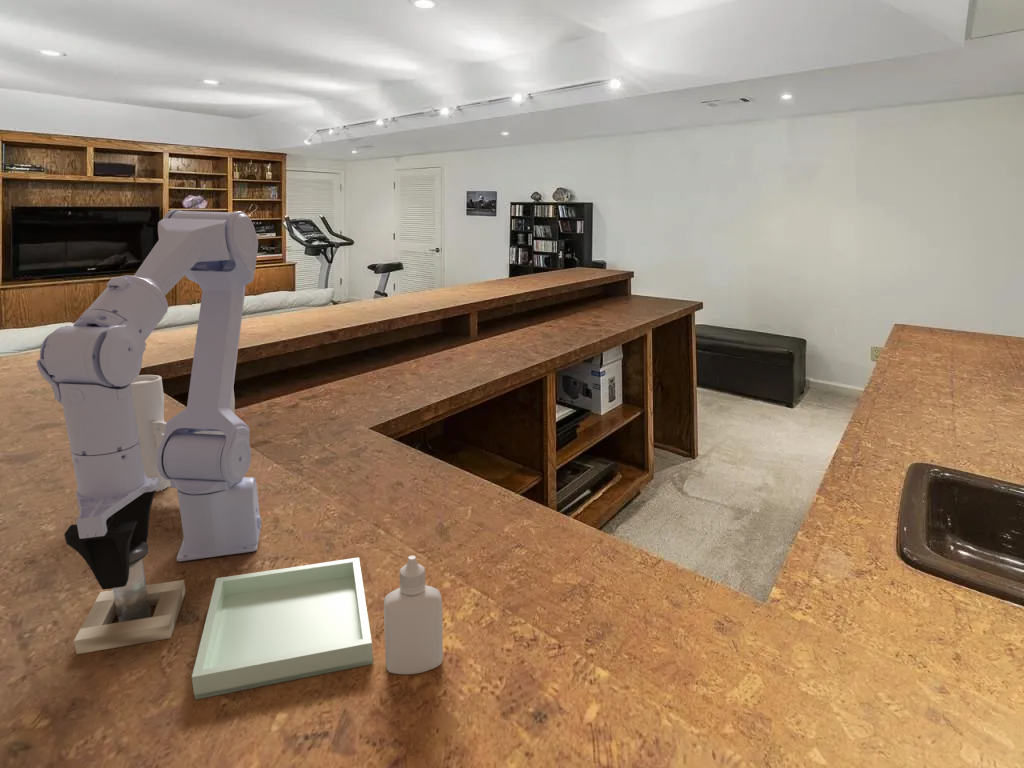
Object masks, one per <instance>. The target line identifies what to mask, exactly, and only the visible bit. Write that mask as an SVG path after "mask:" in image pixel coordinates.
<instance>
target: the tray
mask: <svg viewBox="0 0 1024 768" xmlns="http://www.w3.org/2000/svg"><path fill="white" fill-rule="evenodd" d="M367 608H368V607H367V601H366V595H365V588H364V582H363V576H362V569H361V561H360V557H353V558H351V557H350V558H346V559H338V560H333V561H326V562H319V563H312V564H304V565H298V566H292V567H291V566H290V567H286V568H285V567H284V568H279V569H270V570H264V571H257V572H251V573H244V574H238V575H230V576H222V577H217V578H215V583H214V586H213V590H212V594H211V598H210V603H209V606H208V609H207V615H206V618H205V623H204V627H203V631H202V635H201V637H200V638H201V639H200V643H199V646H198V651H197V653H196V654H197V655H196V658H195V661H194V662H195V663H194V667H193V670H192V674H191V682H192V688H193V689H192V690H193V695H194V700H195V701H196V700H201V699H207V698H210V697H214V696H215V697H216V696H220V695H224V694H230V693H231V694H232V693H235V692H239V691H244V690H245V691H246V690H249V689H255V688H260V687H266V686H269V685H274V684H279V683H285V682H289V681H294V680H300V679H303V678H309V677H314V676H319V675H324V674H329V673H334V672H335V673H336V672H339V671H344V670H349V669H353V668H359V667H364V666H369V665H373V664H374V661H373V642H372V635H371V628H370V621H369V615H368V614H369V613H368V609H367Z"/></svg>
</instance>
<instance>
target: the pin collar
mask: <svg viewBox="0 0 1024 768" xmlns="http://www.w3.org/2000/svg"><path fill="white" fill-rule="evenodd" d="M185 584H186V583H185V579H181V580H179V579H178V580H174V581H167V582H166V581H165V582H159V583H151V584H146V585H147V592H148V598H149V604H150V607H153V606H154V607H155V609H154V612H153V615H152V616H151V617H150V618H144V619H138V620H131V621H125V622H113V621H114V619H115V616H116V615H117V611H116V605H115V599H114V594H113V589H111V590H110V589H109V590H104V591H100V592H99V594H98V596H97V597H96V600H95V601H94V603H93V605H92V607H91V609H90V610H89V613H88V614H87V616H86V617H85V619H84V622H83V623H82V625H81V627H80V629H79V631H78V633H76V636H75V638H74V639H73V643H74V648H75V652H76V655H80V654H85V653H91V652H98V651H103V650H108V649H110V650H111V649H115V648H121V647H126V646H134V645H138V644H139V645H140V644H144V643H151V642H156V641H162V640H168V639H171V638H172V635H173V633H174V630H175V626H176V622H177V620H178V617H179V614H180V611H181V607H182V604H183V601H184V597H185V595H186V585H185Z"/></svg>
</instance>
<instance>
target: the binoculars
mask: <svg viewBox="0 0 1024 768" xmlns="http://www.w3.org/2000/svg"><path fill="white" fill-rule="evenodd" d="M162 379H163V378H162V376H160V375H157V374H156V375H155V374H141V375H140V374H139V375H138V376H137V377H136V378H135V379H134V380H133V381H132V382H131V387H132V394H133V401H134V408H135V414H136V421H137V428H138V435H139V441H140V448H141V455H142V461H143V468H144V473H145V475H146V477H147V478H157V479H158V480H159V486H158V488H157V489H156V491H157V492H160V491H159V490H161V491H164V490H163V489H165V488H167V487H169V486H171V483H170V480H167V479H164V478H163V477H162V476H161V474H160V473H159V470H158V468H157V464H156V455H157V450H158V447H159V445H160V443H161V441H162V439H163V437H164V434H165V430H166V423H167V422H168V421H165V417H164V415H165V414H164V413H165V395H164V388H163V387H164V385H163V380H162ZM234 389H235V388H233V395H232V403H231V411H232V412H233V413H234V414H235V406H236V402H235V401H236V400H235V391H234ZM195 434H217V435H225V434H224V433H223V432H222V431H197V432H195ZM169 488H170V487H169ZM167 489H168V488H167ZM165 490H166V489H165Z"/></svg>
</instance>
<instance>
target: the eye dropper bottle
mask: <svg viewBox="0 0 1024 768" xmlns="http://www.w3.org/2000/svg"><path fill="white" fill-rule="evenodd" d="M417 560H418V559H417V557H416V555H408V557H407V563H406V564H405V565H403V566H402V567H401V568H400V569H399V587H397V588H395V589H394V590H393V591H390V592H388V594H386V596H385V598H384V600H383V618H384V619H383V623H384V624H383V625H384V626H383V627H384V650H385V652H384V653H385V668H386V670H387V671H388V672H389V673H390V674H395V675H416V674H421V673H425V672H428V671H431V670H434V669H436V668H437V667H439V666H440V665H441V664H442V663H443V659H444V657H443V656H444V655H443V654H444V653H443V652H444V650H443V648H444V647H443V642H444V641H443V635H444V634H443V600H442V596H441V592H440V590H439V589H438V588H436V587H433V586H431V585H426V569H425V567H424V566H423V565H422V564H420V563H418V561H417Z"/></svg>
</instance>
